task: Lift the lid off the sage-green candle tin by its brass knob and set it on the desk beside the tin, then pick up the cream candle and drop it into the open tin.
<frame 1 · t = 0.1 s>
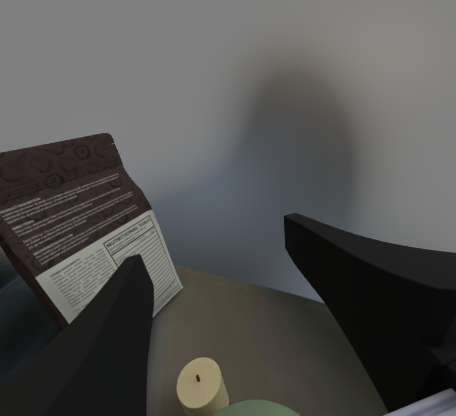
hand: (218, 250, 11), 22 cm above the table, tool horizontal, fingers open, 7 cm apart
candle: (208, 406, 23), on the table
protein powder: (134, 317, 36), on the table
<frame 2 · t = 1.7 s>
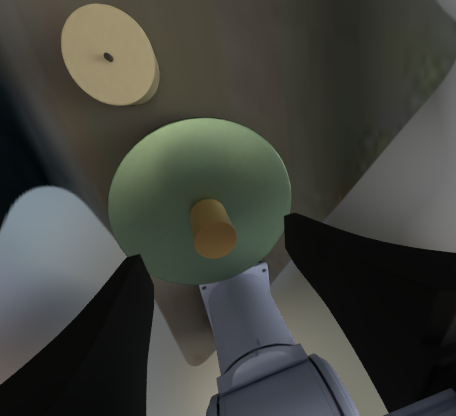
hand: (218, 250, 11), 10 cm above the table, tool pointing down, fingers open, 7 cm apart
candle: (126, 70, 15), on the table
tin lid: (206, 211, 15), point 5 cm above the table, touching tin
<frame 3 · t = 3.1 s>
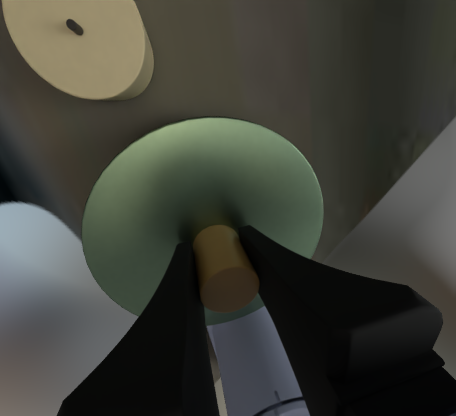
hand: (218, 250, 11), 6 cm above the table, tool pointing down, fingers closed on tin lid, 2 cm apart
candle: (110, 55, 12), on the table
tin lid: (214, 239, 12), point 5 cm above the table, touching gripper, tin
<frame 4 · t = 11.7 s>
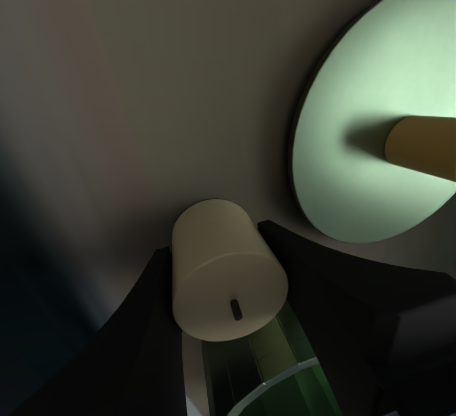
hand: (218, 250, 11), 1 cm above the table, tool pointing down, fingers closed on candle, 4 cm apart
candle: (213, 235, 12), on the table, touching gripper
tin lid: (396, 139, 11), point 1 cm above the table
tin: (275, 326, 17), on the table
when the fingers open (3 cm above the table, at t = 16.6 s): candle stays where it is, resting on tin.
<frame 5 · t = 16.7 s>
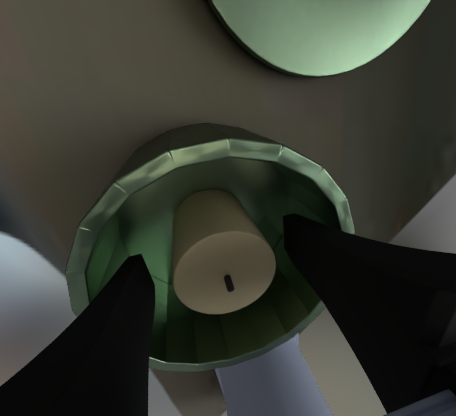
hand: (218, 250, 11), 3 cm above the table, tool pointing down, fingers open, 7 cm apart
candle: (210, 223, 13), resting on tin
tin: (209, 220, 14), on the table
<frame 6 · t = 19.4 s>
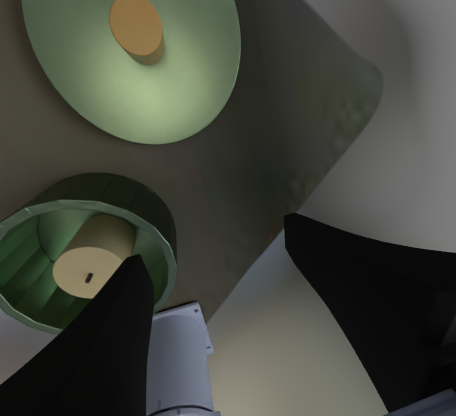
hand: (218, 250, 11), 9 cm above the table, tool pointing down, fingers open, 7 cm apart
candle: (108, 237, 19), resting on tin
tin lid: (144, 43, 14), point 1 cm above the table
tin: (109, 235, 19), on the table
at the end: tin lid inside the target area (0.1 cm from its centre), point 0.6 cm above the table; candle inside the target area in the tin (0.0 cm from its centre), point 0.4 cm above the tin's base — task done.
